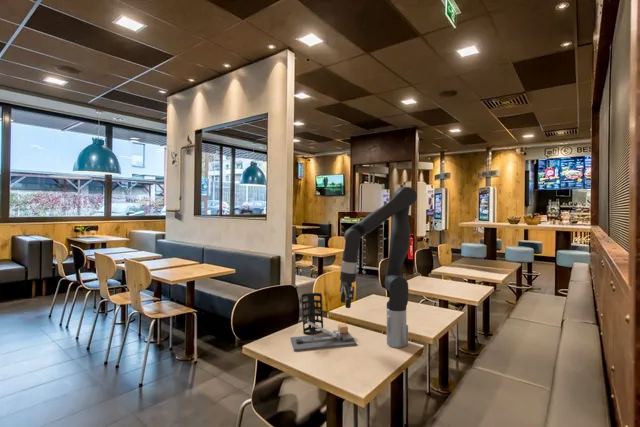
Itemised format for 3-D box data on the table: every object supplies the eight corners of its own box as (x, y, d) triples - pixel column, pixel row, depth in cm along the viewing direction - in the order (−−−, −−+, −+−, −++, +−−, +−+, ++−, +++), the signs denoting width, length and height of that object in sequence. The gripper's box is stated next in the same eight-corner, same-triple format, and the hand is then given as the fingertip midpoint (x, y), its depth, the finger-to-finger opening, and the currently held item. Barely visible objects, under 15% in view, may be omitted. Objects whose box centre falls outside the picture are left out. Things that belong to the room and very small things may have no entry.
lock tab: (345, 329, 175) (345, 323, 175) (347, 332, 171) (347, 326, 171) (338, 330, 174) (338, 324, 174) (340, 333, 170) (340, 327, 170)
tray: (348, 333, 176) (348, 332, 176) (356, 345, 162) (356, 343, 162) (290, 339, 170) (290, 337, 170) (294, 351, 156) (294, 349, 156)
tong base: (346, 332, 175) (346, 325, 175) (352, 340, 165) (352, 333, 165) (294, 336, 170) (294, 330, 170) (297, 346, 159) (297, 338, 159)
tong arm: (332, 334, 168) (333, 332, 168) (334, 337, 165) (335, 335, 165) (299, 318, 164) (300, 316, 165) (300, 320, 162) (301, 318, 162)
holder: (305, 335, 173) (304, 296, 174) (300, 331, 180) (299, 293, 181) (325, 332, 177) (323, 293, 179) (319, 329, 184) (318, 291, 186)
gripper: (361, 274, 154) (357, 310, 154) (351, 268, 168) (348, 301, 168) (345, 273, 152) (341, 309, 153) (337, 267, 166) (333, 300, 167)
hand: (345, 305), depth 160 cm, fingers open, 8 cm apart
